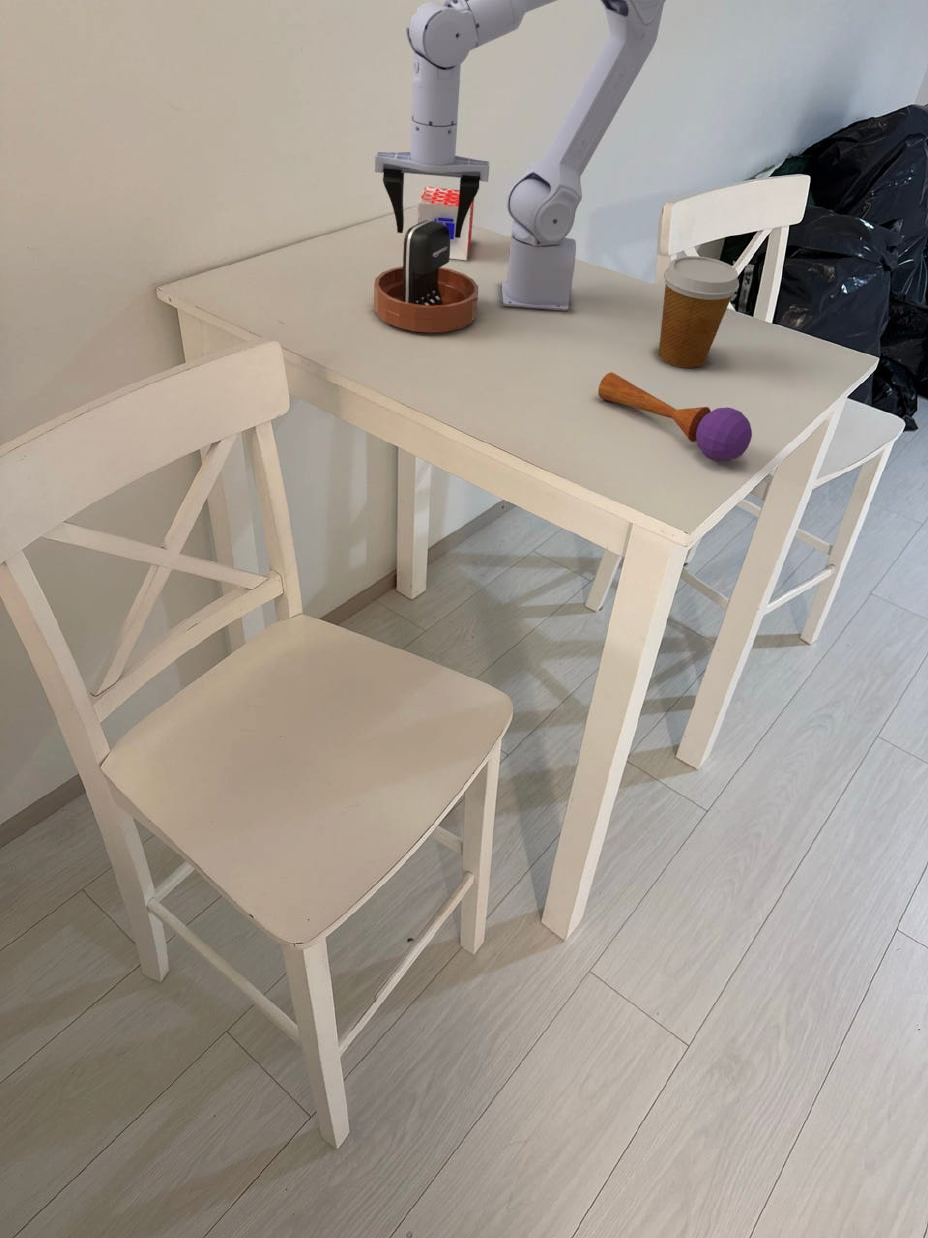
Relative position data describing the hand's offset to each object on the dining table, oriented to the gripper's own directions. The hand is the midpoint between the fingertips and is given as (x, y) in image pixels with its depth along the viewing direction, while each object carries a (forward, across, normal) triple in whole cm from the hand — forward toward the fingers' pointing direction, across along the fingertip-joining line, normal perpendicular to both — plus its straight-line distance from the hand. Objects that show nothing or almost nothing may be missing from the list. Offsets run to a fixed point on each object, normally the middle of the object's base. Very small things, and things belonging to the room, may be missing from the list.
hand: (429, 232), depth 121 cm
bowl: (+10, 0, +2) cm, 11 cm away
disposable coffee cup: (+10, -35, +10) cm, 38 cm away
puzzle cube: (+11, -2, -23) cm, 26 cm away
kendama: (+11, -30, +30) cm, 44 cm away
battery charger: (+10, 0, +2) cm, 10 cm away
